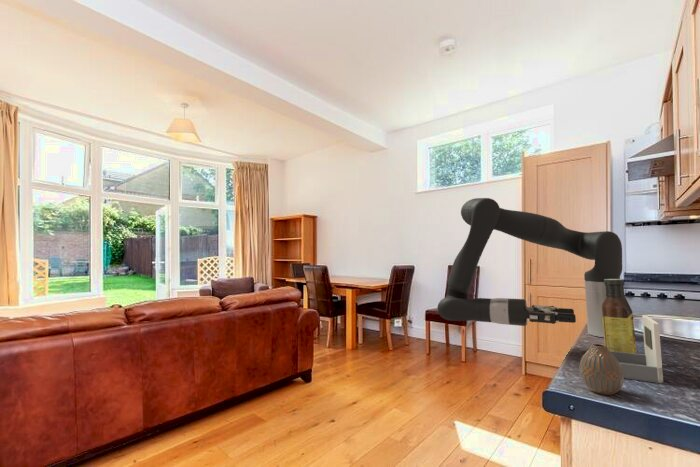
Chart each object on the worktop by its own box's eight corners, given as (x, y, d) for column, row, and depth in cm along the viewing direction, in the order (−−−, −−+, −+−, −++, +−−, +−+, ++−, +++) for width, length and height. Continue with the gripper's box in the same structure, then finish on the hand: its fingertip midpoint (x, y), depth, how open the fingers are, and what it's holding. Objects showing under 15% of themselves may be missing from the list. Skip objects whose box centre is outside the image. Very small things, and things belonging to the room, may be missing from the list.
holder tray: (590, 361, 83) (587, 312, 83) (650, 368, 77) (646, 315, 78) (595, 374, 74) (592, 319, 75) (663, 383, 68) (658, 323, 69)
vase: (610, 401, 61) (607, 351, 61) (572, 387, 67) (570, 343, 68) (633, 394, 64) (629, 347, 64) (594, 381, 70) (591, 339, 71)
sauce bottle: (643, 363, 81) (637, 280, 82) (613, 362, 82) (608, 280, 83) (626, 355, 87) (621, 278, 88) (599, 354, 88) (594, 278, 89)
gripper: (504, 301, 92) (575, 305, 84) (510, 295, 104) (572, 298, 96) (506, 329, 92) (577, 335, 83) (511, 320, 104) (574, 324, 96)
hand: (574, 315), depth 90 cm, fingers open, 8 cm apart
